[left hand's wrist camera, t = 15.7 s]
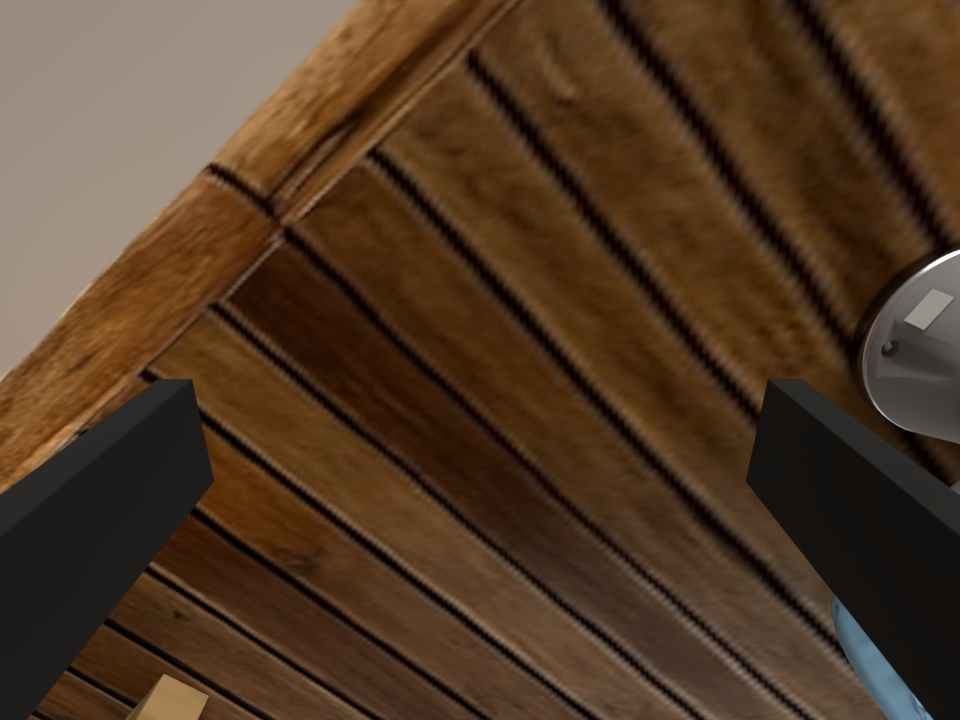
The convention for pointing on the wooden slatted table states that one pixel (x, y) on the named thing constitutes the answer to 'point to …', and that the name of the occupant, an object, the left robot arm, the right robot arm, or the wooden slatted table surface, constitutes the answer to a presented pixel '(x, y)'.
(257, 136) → the wooden slatted table surface
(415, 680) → the wooden slatted table surface
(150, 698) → the bar
